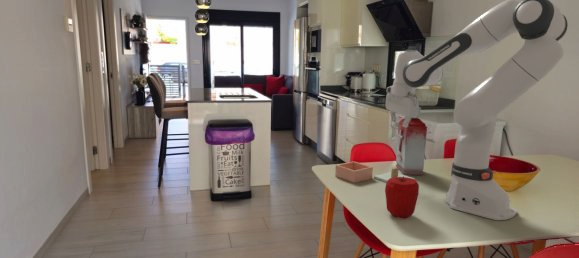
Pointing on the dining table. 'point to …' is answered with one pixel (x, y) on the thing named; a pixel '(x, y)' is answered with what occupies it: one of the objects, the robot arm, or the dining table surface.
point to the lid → (390, 175)
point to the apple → (401, 196)
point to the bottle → (411, 146)
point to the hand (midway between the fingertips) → (398, 124)
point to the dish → (354, 171)
